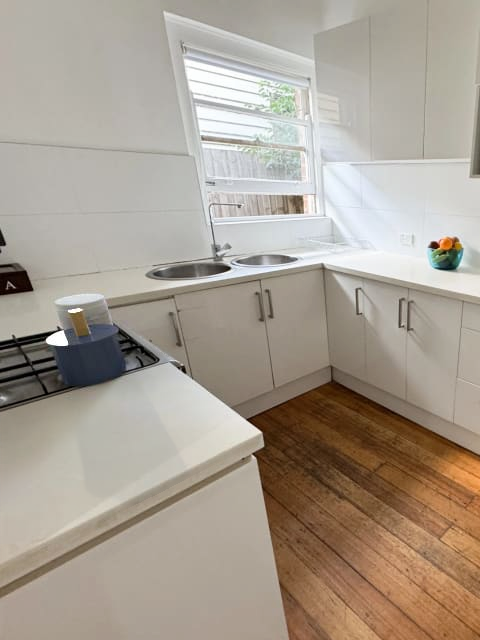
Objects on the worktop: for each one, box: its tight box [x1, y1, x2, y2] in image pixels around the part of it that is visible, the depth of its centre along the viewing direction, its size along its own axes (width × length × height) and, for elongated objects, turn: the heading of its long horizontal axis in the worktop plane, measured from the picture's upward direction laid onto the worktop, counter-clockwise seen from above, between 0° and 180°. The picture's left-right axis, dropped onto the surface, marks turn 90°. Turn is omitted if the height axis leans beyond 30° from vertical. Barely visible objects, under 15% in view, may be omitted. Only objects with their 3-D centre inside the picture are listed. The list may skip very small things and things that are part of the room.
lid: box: [45, 309, 119, 348], centre depth 83 cm, size 12×12×7 cm
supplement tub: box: [54, 293, 114, 331], centre depth 95 cm, size 10×10×15 cm
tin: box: [49, 334, 127, 387], centre depth 86 cm, size 11×11×10 cm
